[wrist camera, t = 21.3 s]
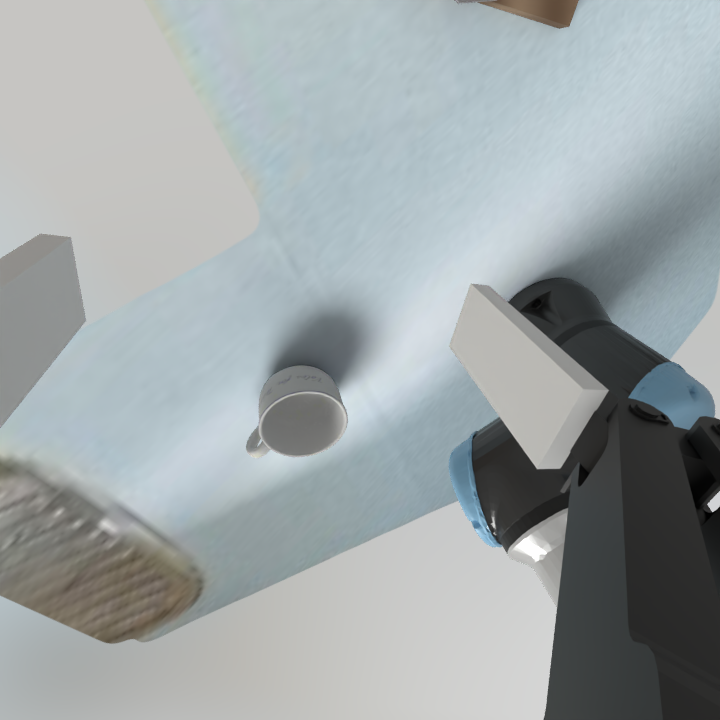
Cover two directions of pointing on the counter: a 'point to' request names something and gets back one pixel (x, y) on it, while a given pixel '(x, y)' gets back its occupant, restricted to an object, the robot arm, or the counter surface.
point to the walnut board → (539, 10)
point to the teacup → (298, 414)
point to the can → (468, 0)
